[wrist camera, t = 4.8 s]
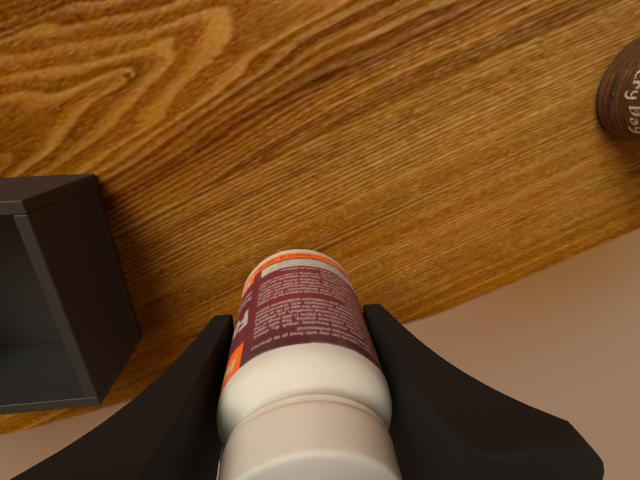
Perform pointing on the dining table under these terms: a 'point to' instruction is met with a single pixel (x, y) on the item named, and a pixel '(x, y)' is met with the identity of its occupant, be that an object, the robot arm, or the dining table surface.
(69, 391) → the open storage bin
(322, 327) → the pill bottle
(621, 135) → the utensil holder
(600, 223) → the dining table surface
